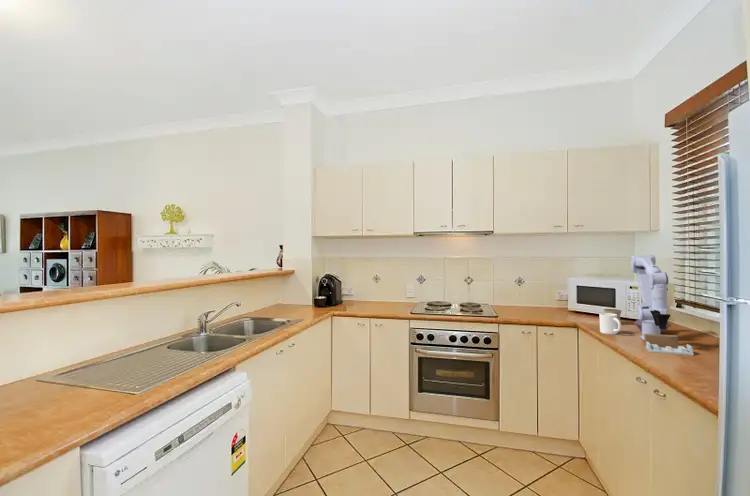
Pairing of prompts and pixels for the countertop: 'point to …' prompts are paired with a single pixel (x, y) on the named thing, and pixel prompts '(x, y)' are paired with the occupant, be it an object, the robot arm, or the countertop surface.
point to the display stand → (670, 349)
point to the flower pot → (614, 312)
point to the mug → (609, 323)
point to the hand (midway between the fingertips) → (660, 327)
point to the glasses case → (662, 340)
